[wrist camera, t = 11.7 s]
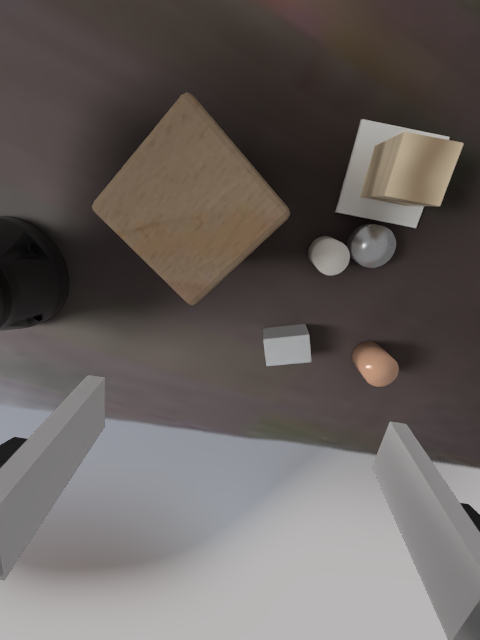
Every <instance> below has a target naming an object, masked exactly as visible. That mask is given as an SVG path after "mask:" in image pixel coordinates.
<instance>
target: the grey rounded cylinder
mask: <svg viewBox="0 0 480 640" xmlns="http://www.w3.org/2000/svg"><path fill="white" fill-rule="evenodd" d="M308 255H309V259H310V261H311V262H312V263H313V264H314V266H315V267H316V268H317V269H318V270H319V271H320V272H321V273H323V274H325V275H336V274H339V273H341V272H342V271H343V270H344V269H345V268H346V267H347V265H348V263H349V260H350V253H349V250H348V248H347V246H346V245H345V244H343V243H342V242H340V241H338V240H336V239H334V238H332V237H329V236H322V237H319V238H317V239H315V240H314V241H313V242H312V243H311V245H310V247H309V251H308Z"/></svg>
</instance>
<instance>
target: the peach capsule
mask: <svg viewBox="0 0 480 640" xmlns="http://www.w3.org/2000/svg"><path fill="white" fill-rule="evenodd" d="M352 361H353V363H354V365H355V366H356V367H357V369H358V370H359V371H360V373H361V374H362V375H363V377H364V378H365V379H366V381H367V382H368V383H369V384H371V385H373V386H377V387H381V386H386V385H388V384H390V383H391V382H393V381H394V380H395V378H396V377H397V375H398V371H399V367H398V364H397V362H396V361H395V360H394V359H393V358H392V357H391V356H390V355H389V354H388V353H387V352H386V351H385V350H384V349H383V348H382V347H381V346H380V345H378V344H377V343H375V342H372V341H366V342H362V343H360V344H359V345H357V346H356V347H355V349H354V350H353V352H352Z"/></svg>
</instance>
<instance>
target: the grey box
mask: <svg viewBox="0 0 480 640" xmlns="http://www.w3.org/2000/svg"><path fill="white" fill-rule="evenodd" d="M263 342H264V350H265V358H266V366H274V365H284V364H295V363H306V362H311V351H310V337H309V332H308V330H307V327H306V324H299V325H290V326H281V327H271V328H263Z"/></svg>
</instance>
